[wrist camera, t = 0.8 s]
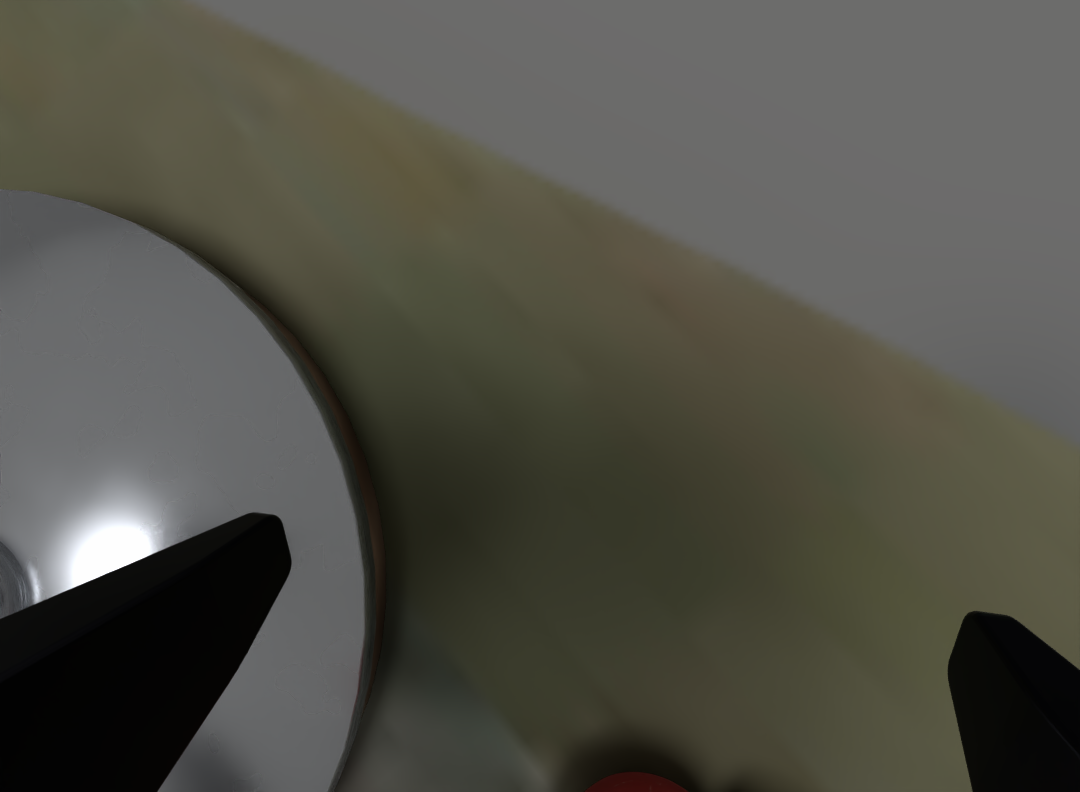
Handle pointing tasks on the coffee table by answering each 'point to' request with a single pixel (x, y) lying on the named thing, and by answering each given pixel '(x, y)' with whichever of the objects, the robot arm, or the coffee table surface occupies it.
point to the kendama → (635, 783)
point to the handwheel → (180, 471)
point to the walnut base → (365, 487)
